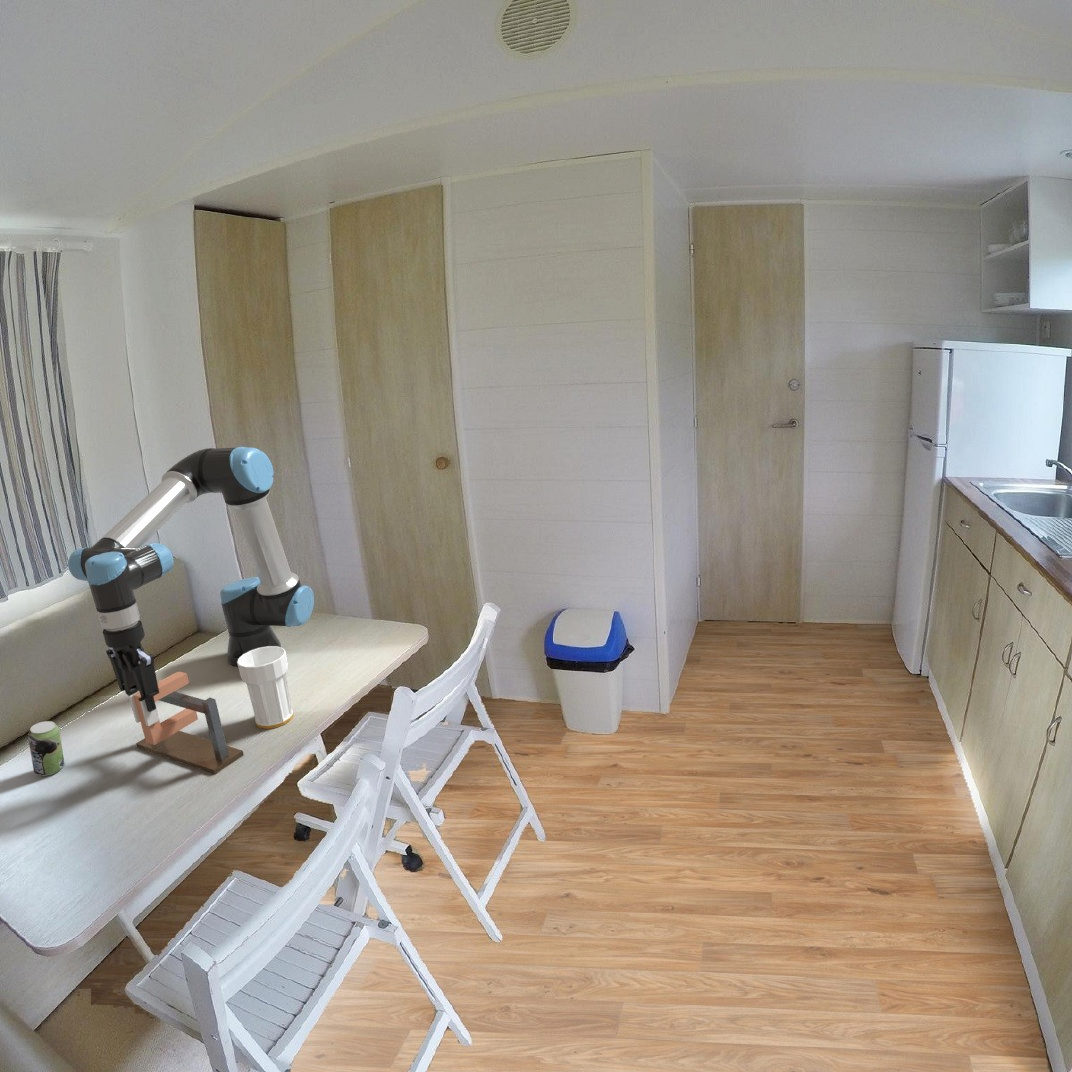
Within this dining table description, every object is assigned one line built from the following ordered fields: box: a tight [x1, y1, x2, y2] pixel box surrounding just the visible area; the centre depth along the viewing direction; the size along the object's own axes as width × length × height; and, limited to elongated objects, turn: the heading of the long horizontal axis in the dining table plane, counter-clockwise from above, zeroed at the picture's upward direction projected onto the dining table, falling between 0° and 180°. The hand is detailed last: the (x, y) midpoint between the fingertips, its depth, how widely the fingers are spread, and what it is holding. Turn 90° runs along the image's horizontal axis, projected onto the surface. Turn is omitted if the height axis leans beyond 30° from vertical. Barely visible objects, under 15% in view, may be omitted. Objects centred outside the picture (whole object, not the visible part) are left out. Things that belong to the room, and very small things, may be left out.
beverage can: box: [27, 720, 65, 777], centre depth 176 cm, size 6×7×12 cm
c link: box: [133, 670, 199, 745], centre depth 175 cm, size 3×12×12 cm, turn 151°
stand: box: [135, 690, 244, 775], centre depth 178 cm, size 28×8×16 cm, turn 61°
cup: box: [237, 646, 294, 730], centre depth 189 cm, size 11×11×17 cm
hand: (147, 721), depth 171 cm, fingers closed on c link, 3 cm apart
